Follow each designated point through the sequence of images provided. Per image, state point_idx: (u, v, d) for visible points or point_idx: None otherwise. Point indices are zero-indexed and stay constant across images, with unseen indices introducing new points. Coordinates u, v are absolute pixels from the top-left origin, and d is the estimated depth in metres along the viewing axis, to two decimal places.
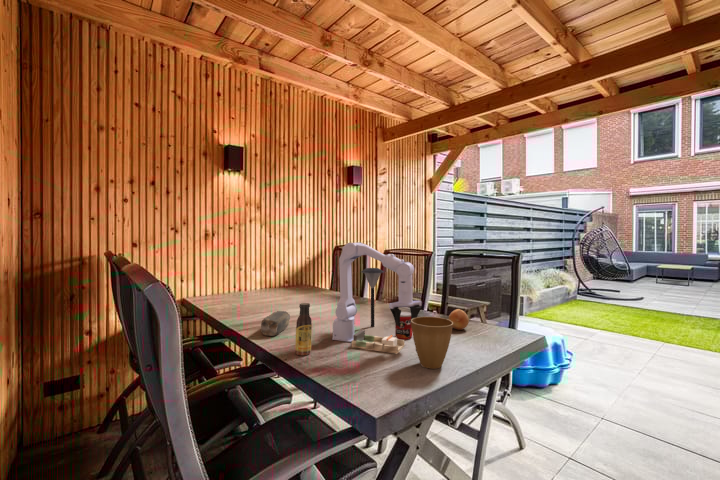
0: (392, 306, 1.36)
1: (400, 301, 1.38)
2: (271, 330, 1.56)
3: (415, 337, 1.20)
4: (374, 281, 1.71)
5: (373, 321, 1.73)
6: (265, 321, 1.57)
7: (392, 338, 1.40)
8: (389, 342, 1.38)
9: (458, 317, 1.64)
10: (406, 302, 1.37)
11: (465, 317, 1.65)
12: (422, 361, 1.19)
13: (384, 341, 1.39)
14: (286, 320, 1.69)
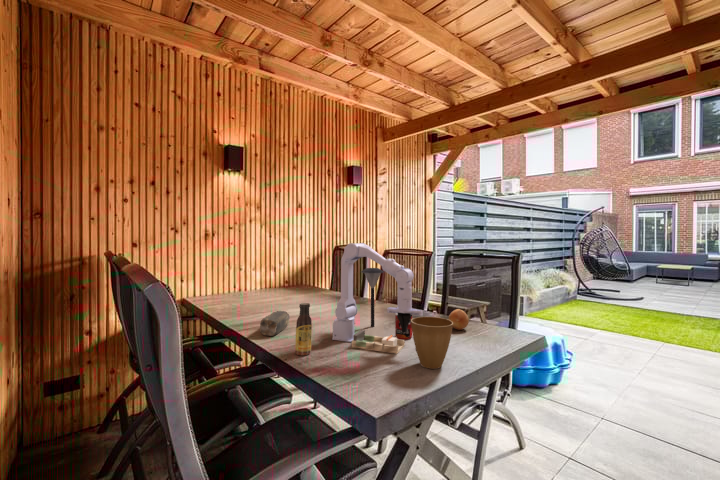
0: (388, 310, 1.39)
1: None
2: (271, 330, 1.56)
3: (415, 337, 1.20)
4: (374, 281, 1.71)
5: (373, 321, 1.73)
6: (264, 321, 1.57)
7: (392, 338, 1.40)
8: (389, 342, 1.38)
9: (458, 317, 1.64)
10: (399, 309, 1.36)
11: (465, 317, 1.65)
12: (422, 361, 1.19)
13: (384, 341, 1.39)
14: (285, 320, 1.69)
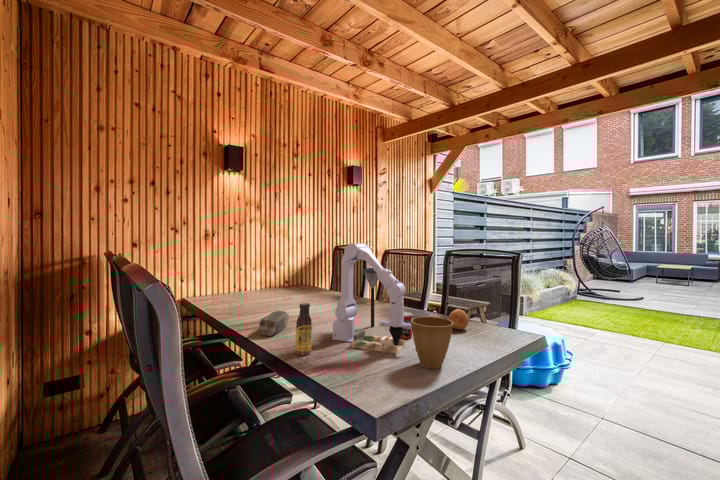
0: (380, 324, 1.41)
1: None
2: (269, 330, 1.56)
3: (415, 337, 1.20)
4: (374, 281, 1.71)
5: (373, 321, 1.73)
6: (263, 321, 1.57)
7: (390, 338, 1.41)
8: (387, 342, 1.38)
9: (458, 317, 1.64)
10: (391, 322, 1.37)
11: (465, 317, 1.65)
12: (422, 361, 1.19)
13: (382, 341, 1.39)
14: (285, 320, 1.69)
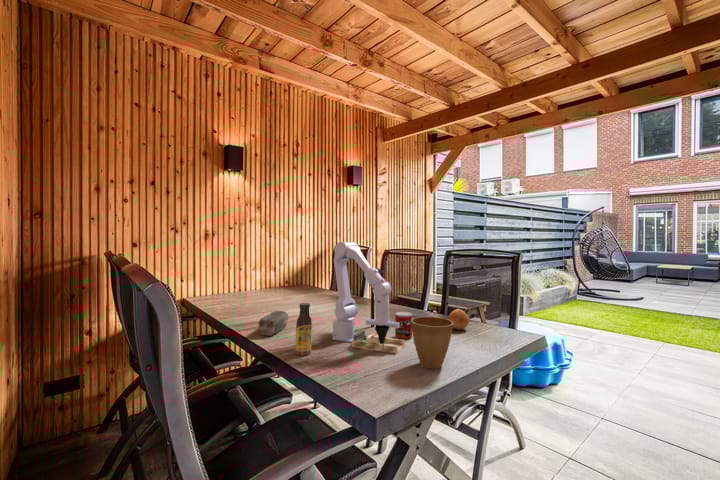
0: (366, 322, 1.43)
1: None
2: (269, 330, 1.56)
3: (415, 337, 1.20)
4: None
5: None
6: (262, 321, 1.57)
7: (376, 336, 1.43)
8: (373, 340, 1.41)
9: (458, 317, 1.64)
10: (377, 321, 1.40)
11: (465, 317, 1.65)
12: (422, 361, 1.19)
13: (368, 339, 1.41)
14: (284, 320, 1.69)
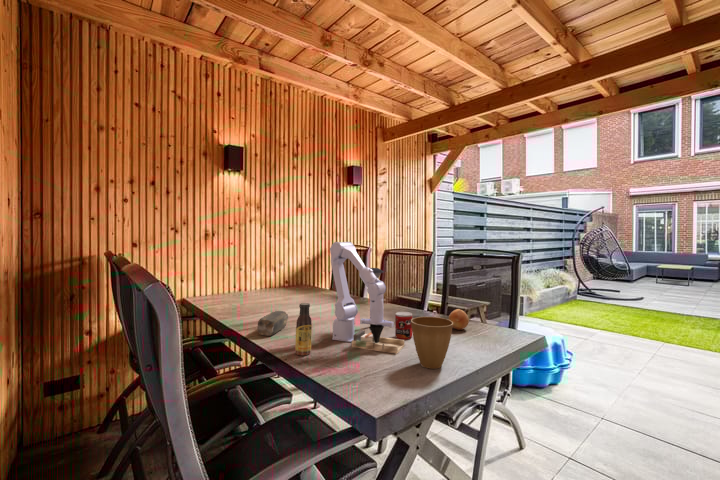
0: (361, 321, 1.44)
1: None
2: (268, 330, 1.57)
3: (415, 337, 1.20)
4: None
5: None
6: (261, 321, 1.57)
7: (371, 335, 1.44)
8: (368, 339, 1.42)
9: (458, 317, 1.64)
10: (371, 320, 1.41)
11: (465, 317, 1.65)
12: (422, 361, 1.19)
13: (363, 338, 1.43)
14: (284, 320, 1.69)
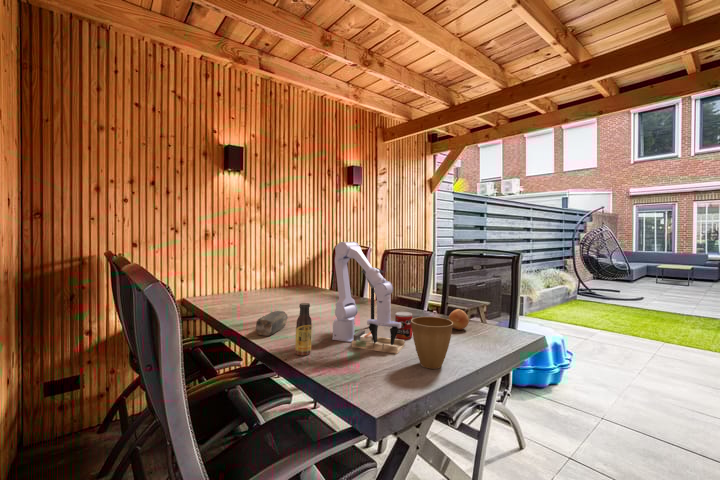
0: (368, 322, 1.43)
1: None
2: (266, 330, 1.57)
3: (415, 337, 1.20)
4: None
5: None
6: (260, 321, 1.58)
7: (370, 335, 1.44)
8: (367, 339, 1.42)
9: (458, 317, 1.64)
10: (378, 321, 1.39)
11: (465, 317, 1.65)
12: (422, 361, 1.19)
13: (362, 338, 1.43)
14: (283, 320, 1.69)
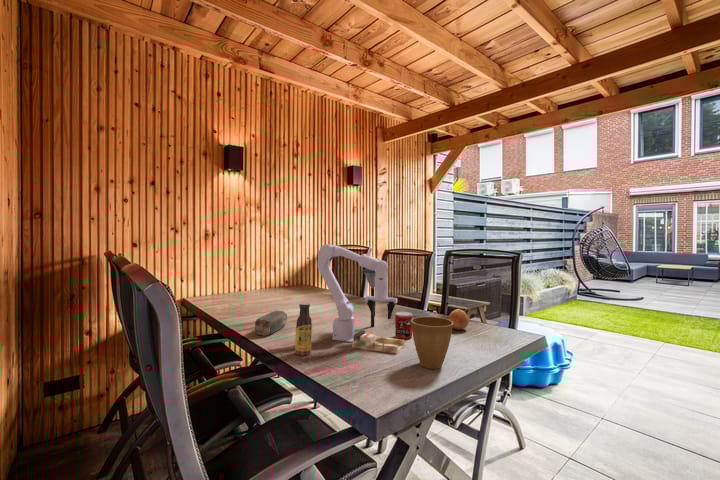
0: (366, 298, 1.53)
1: None
2: (264, 330, 1.57)
3: (415, 337, 1.20)
4: (374, 281, 1.71)
5: (373, 321, 1.73)
6: (258, 321, 1.58)
7: (370, 335, 1.44)
8: (367, 339, 1.42)
9: (458, 317, 1.64)
10: (376, 297, 1.49)
11: (465, 317, 1.65)
12: (422, 361, 1.19)
13: (362, 338, 1.43)
14: (282, 320, 1.69)
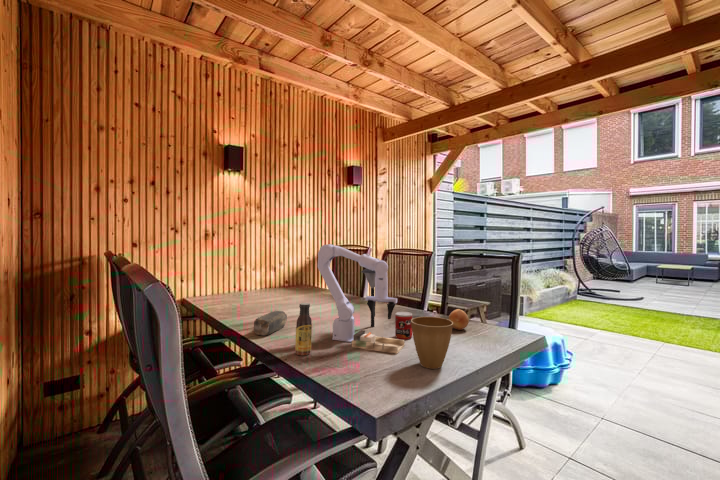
0: (366, 298, 1.53)
1: None
2: (263, 330, 1.57)
3: (415, 337, 1.20)
4: (374, 281, 1.71)
5: (373, 321, 1.73)
6: (257, 320, 1.58)
7: (370, 335, 1.44)
8: (367, 339, 1.42)
9: (458, 317, 1.64)
10: (376, 297, 1.49)
11: (465, 317, 1.65)
12: (422, 361, 1.19)
13: (362, 338, 1.43)
14: (281, 320, 1.69)
